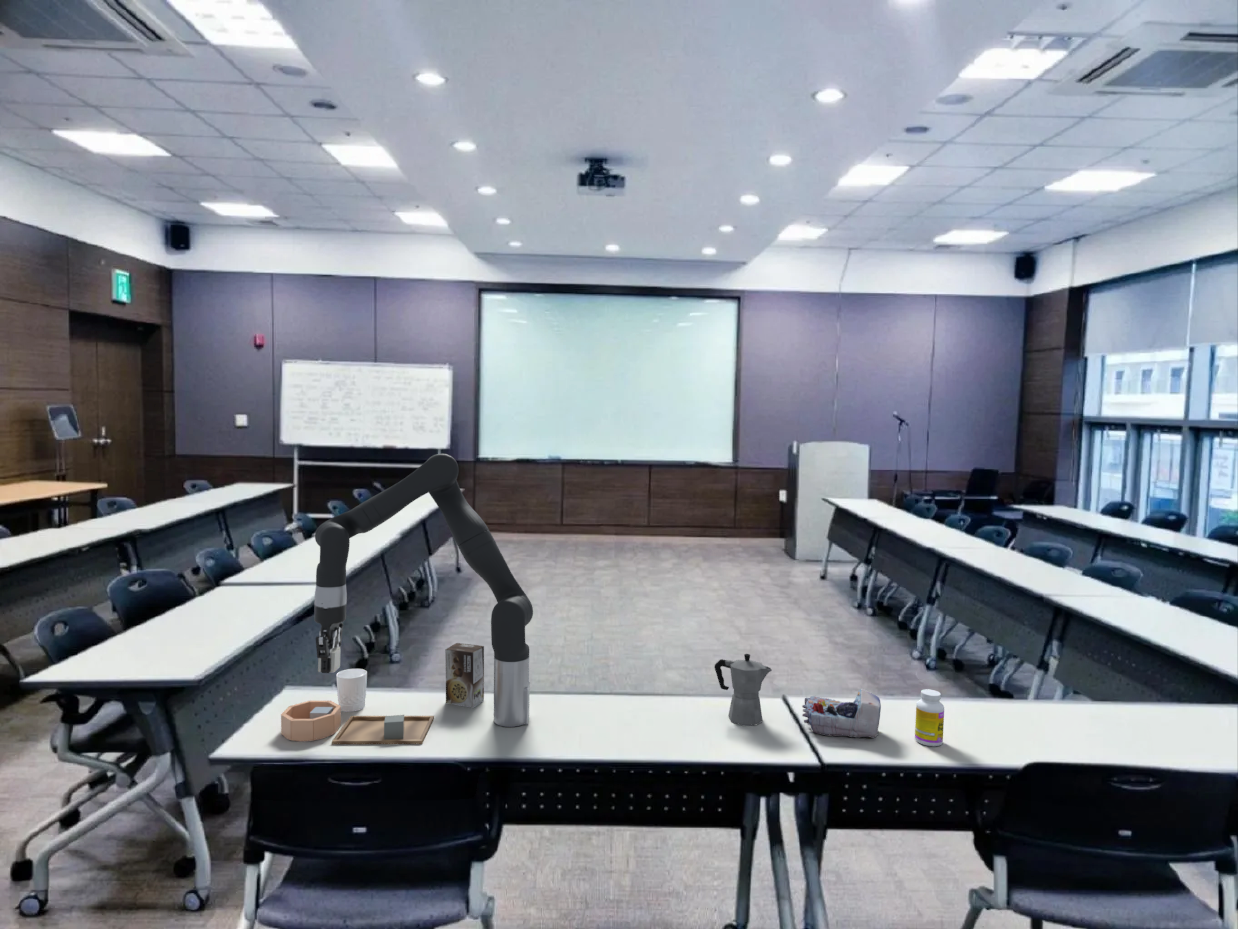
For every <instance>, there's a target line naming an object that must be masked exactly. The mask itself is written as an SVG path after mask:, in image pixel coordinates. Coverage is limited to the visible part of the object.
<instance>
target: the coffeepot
mask: <svg viewBox="0 0 1238 929" xmlns="http://www.w3.org/2000/svg"><path fill="white" fill-rule="evenodd" d="M743 655H744V659H736V660H731V659H723V658H722V659H718V661H717V662H716V663H715V664H714V671H715V674H716V676H717V680H718V683H719V688H720V689H721V690H724V691H725V690H726V691H728V690H729V686H726V685H725V678H724V676H723V671H722V667H724V668H727V669H730V676H731V677H730V678H731V685H732V689H733V694H732V697H731V700H730V701H731V702H730V706H729V711H728V718H729V721H730V722H731V723H733V724H735V725H739V726H740V725H741V726H745V727H746V726H748V727H749V726H757V725H760V723H762V722H763V713H762V708H761V707H762V706H761V700H760V696H759V695H760V694H759V692H760V691H761V689H762V683H763V681H764V679H765V678H766V677H767V675H768V674H769V673H770V672H772V668H771V667H769V666H767V665H765V664H763V663H762V662H760V661H756V660H752V659H750V658H751V654H749V653H745V654H743Z"/></svg>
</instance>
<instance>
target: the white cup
mask: <svg viewBox="0 0 1238 929" xmlns="http://www.w3.org/2000/svg"><path fill="white" fill-rule="evenodd" d="M367 679H368V671H367V670H365V669H363V668H348V669H344V670H343V669H342V670H340V671H338V672H337V673H336V690H337V704H338V705H340V706H341V712H346V713H353V712H357V711H360V710H363V709H364V708H365V707H366V698H367V697H366V696H367V681H368V680H367Z"/></svg>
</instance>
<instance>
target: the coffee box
mask: <svg viewBox="0 0 1238 929" xmlns="http://www.w3.org/2000/svg"><path fill="white" fill-rule="evenodd" d="M444 652H445V655H444V656H445V704H448V705H453V706H454V705H455V706H460V707H461V706H462V707H468V708H475V707H477V706H478V705H480V704H481V703H483V702H484V701H485V646H484V645H477V644H471V643H470V644H468V643H460V642H456V643H454V644H452V645H450V646H449V647H447V648H446V649H445V651H444Z"/></svg>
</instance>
